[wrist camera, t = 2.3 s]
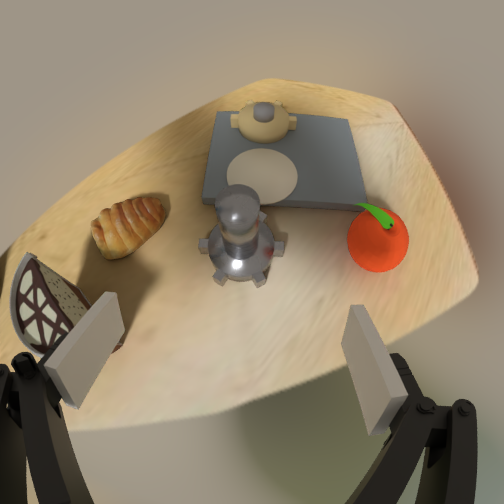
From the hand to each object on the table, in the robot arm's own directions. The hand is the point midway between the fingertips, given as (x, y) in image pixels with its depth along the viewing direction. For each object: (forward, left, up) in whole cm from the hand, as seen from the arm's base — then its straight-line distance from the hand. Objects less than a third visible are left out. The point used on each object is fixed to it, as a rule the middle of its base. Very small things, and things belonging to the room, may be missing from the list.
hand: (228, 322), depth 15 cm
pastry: (-15, +12, -14) cm, 24 cm away
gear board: (+5, +24, -14) cm, 28 cm away
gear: (0, +10, -14) cm, 17 cm away
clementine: (+14, +11, -14) cm, 23 cm away
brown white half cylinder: (-18, -1, -14) cm, 23 cm away
